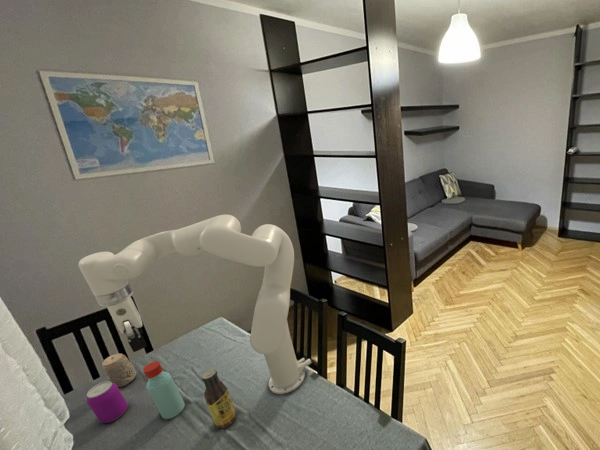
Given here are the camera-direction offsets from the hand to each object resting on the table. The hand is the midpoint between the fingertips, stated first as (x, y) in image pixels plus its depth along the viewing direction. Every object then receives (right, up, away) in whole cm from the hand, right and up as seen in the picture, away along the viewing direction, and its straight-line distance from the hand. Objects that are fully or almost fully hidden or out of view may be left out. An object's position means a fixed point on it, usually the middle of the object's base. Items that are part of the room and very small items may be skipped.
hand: (138, 341), depth 95 cm
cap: (+1, -12, +5) cm, 13 cm away
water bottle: (+2, -28, +11) cm, 30 cm away
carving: (-25, -25, +25) cm, 43 cm away
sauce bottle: (+23, -28, +6) cm, 37 cm away
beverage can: (-18, -29, +12) cm, 36 cm away
